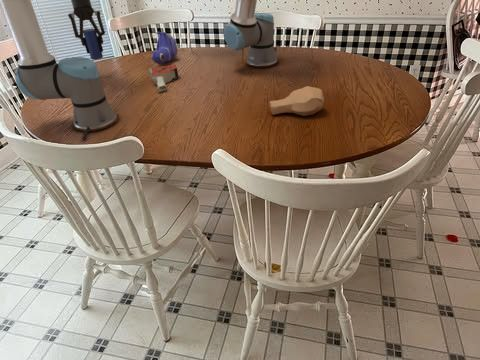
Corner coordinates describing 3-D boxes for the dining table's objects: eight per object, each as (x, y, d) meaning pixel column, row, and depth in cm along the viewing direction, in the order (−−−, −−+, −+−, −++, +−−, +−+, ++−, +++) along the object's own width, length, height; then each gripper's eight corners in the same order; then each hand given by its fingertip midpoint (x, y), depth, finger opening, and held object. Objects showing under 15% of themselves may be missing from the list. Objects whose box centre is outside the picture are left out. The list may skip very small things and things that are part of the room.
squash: (328, 116, 127) (328, 95, 121) (272, 126, 129) (270, 106, 123) (321, 99, 135) (321, 79, 128) (269, 109, 137) (266, 89, 130)
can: (99, 55, 171) (92, 28, 163) (105, 57, 167) (97, 29, 160) (88, 58, 168) (80, 30, 160) (94, 60, 164) (86, 32, 157)
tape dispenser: (162, 96, 154) (191, 78, 166) (160, 85, 150) (189, 67, 163) (133, 88, 161) (162, 71, 174) (130, 77, 158) (160, 60, 170)
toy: (165, 64, 198) (145, 69, 175) (161, 31, 191) (139, 33, 169) (182, 63, 196) (164, 69, 173) (178, 30, 189) (159, 32, 167)
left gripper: (102, -7, 157) (116, 47, 170) (58, -3, 154) (75, 52, 168) (101, -4, 151) (115, 51, 164) (55, 0, 148) (73, 56, 162)
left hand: (95, 51), depth 166 cm, fingers closed on can, 5 cm apart
